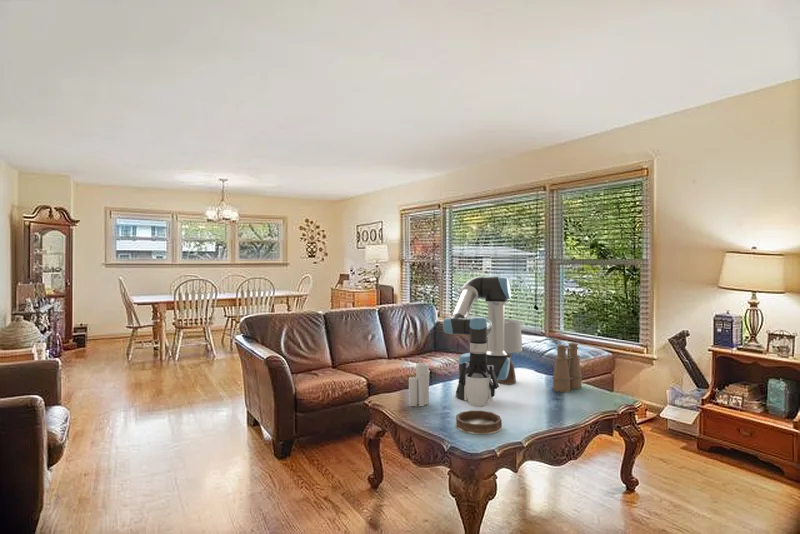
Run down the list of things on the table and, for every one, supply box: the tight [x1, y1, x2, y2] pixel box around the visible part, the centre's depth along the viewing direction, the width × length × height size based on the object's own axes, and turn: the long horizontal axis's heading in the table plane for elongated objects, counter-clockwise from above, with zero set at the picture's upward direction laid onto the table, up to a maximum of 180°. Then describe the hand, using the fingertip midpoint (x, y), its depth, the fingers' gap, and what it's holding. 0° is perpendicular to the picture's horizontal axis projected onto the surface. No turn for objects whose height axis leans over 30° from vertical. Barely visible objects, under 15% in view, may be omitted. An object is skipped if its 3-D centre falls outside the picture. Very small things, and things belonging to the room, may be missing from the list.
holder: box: [455, 410, 503, 435], centre depth 209 cm, size 20×20×4 cm
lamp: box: [497, 318, 523, 385], centre depth 282 cm, size 19×19×37 cm
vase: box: [408, 362, 430, 407], centre depth 240 cm, size 11×7×20 cm, turn 135°
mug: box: [465, 373, 492, 408], centre depth 209 cm, size 15×11×13 cm
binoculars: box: [551, 342, 583, 393], centre depth 269 cm, size 21×10×25 cm, turn 125°
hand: (478, 401), depth 208 cm, fingers closed on mug, 11 cm apart
